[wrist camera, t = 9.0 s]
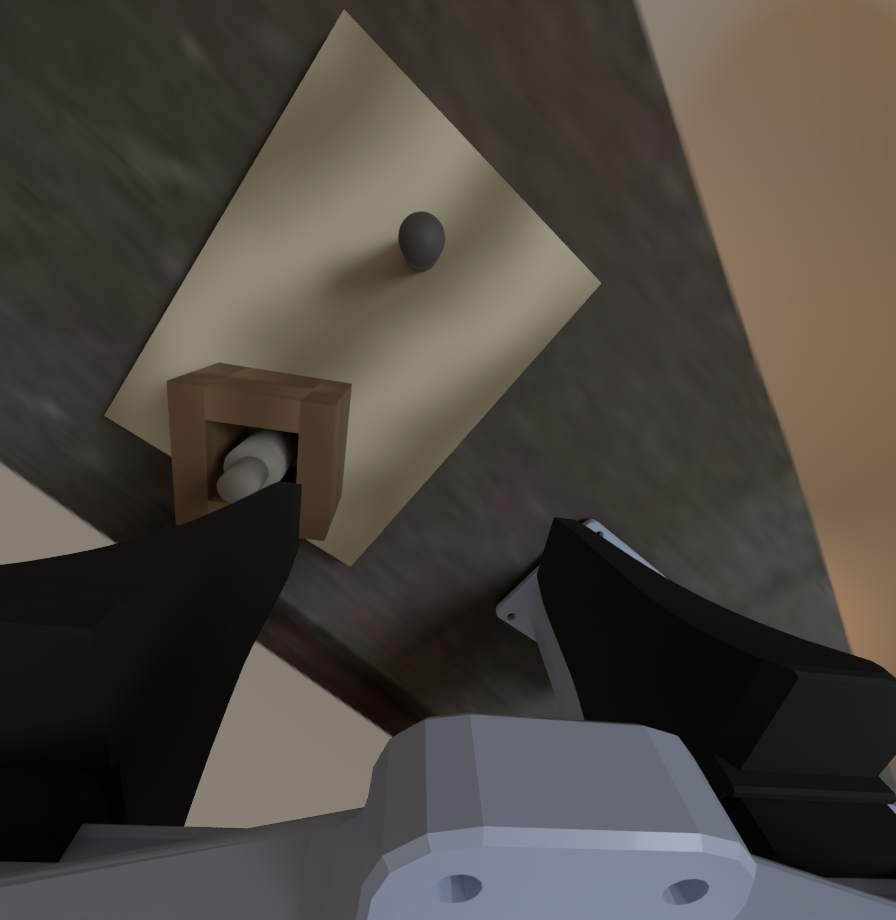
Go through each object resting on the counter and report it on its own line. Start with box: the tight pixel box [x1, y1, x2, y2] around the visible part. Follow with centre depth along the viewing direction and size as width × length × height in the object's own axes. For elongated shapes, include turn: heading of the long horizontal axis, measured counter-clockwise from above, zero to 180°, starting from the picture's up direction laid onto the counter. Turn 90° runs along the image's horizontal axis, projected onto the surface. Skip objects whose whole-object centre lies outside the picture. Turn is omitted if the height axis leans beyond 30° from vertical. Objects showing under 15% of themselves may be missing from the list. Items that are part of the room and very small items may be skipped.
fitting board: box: [104, 10, 601, 567], centre depth 16 cm, size 13×18×6 cm
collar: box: [166, 363, 352, 541], centre depth 17 cm, size 6×6×4 cm
